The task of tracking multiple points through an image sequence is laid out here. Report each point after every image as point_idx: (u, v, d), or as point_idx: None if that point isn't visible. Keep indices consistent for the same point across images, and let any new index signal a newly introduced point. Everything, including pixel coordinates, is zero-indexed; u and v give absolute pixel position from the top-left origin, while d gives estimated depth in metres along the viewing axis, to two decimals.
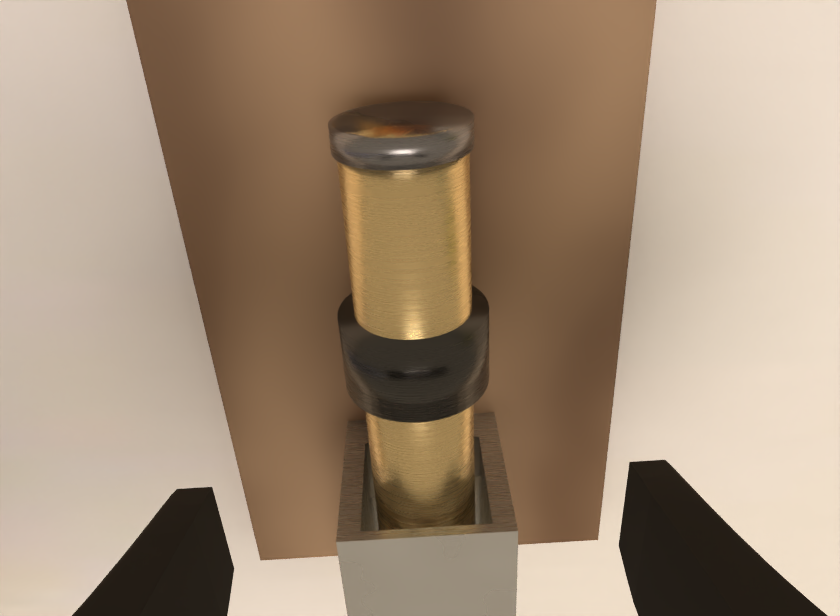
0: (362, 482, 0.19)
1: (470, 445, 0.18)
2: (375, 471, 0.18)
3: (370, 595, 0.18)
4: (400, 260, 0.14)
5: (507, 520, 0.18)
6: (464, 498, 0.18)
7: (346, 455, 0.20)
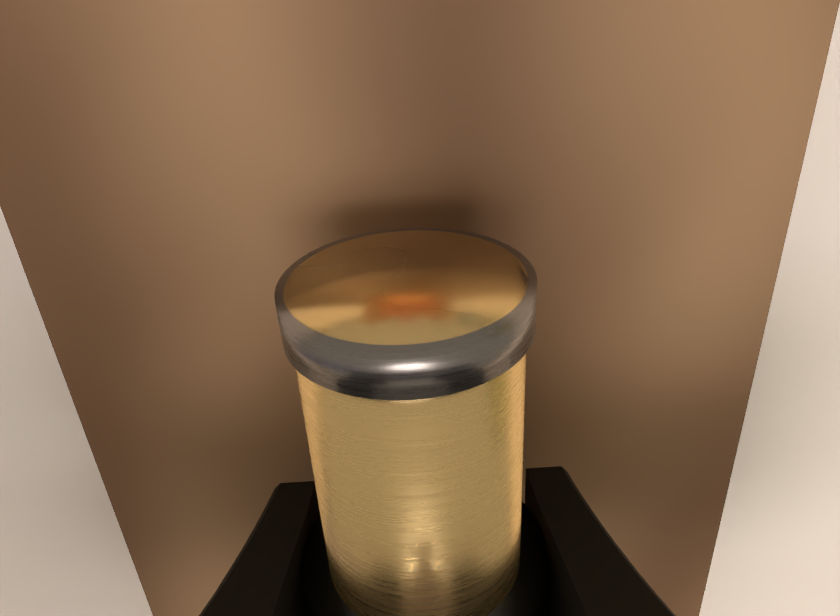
0: None
1: None
2: None
3: None
4: (403, 529, 0.08)
5: None
6: None
7: None
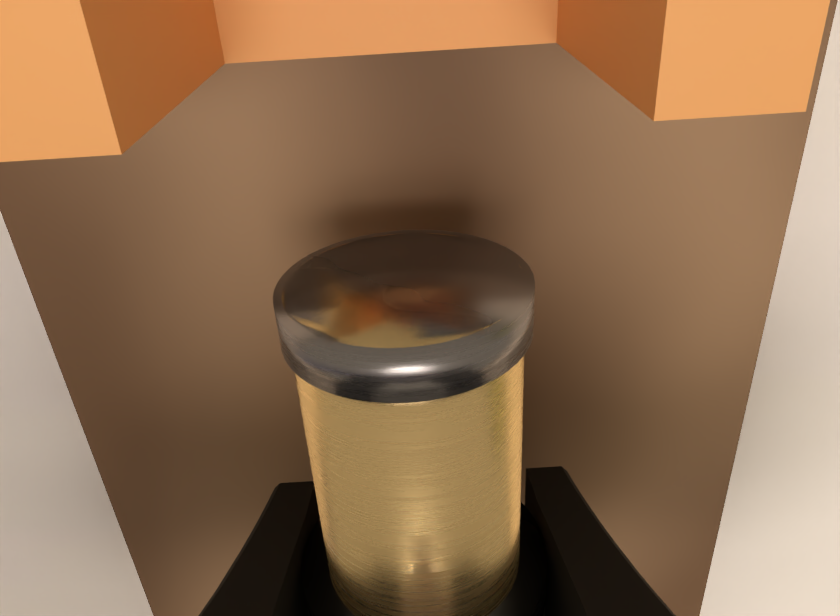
0: None
1: None
2: None
3: None
4: (402, 531, 0.08)
5: None
6: None
7: None
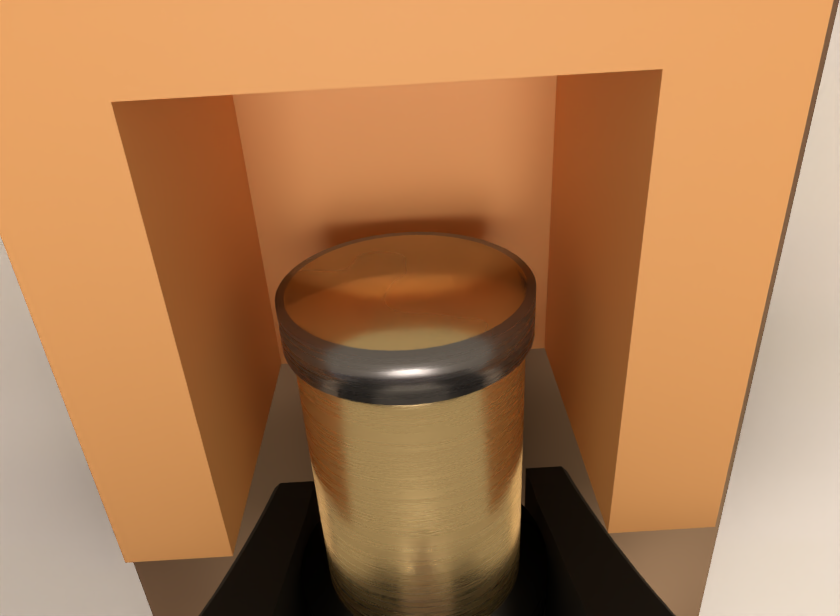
0: None
1: None
2: None
3: None
4: (403, 532, 0.08)
5: None
6: None
7: None
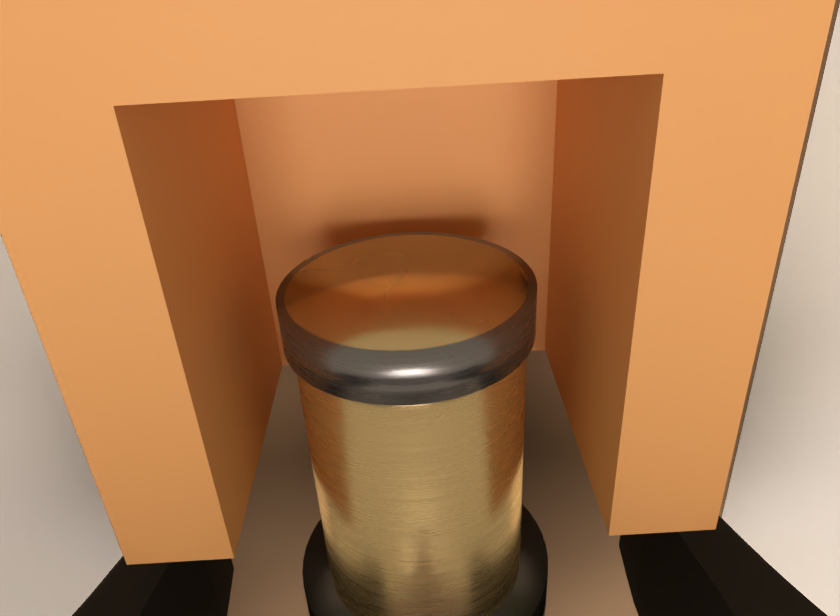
0: None
1: None
2: None
3: None
4: (404, 532, 0.08)
5: None
6: None
7: None
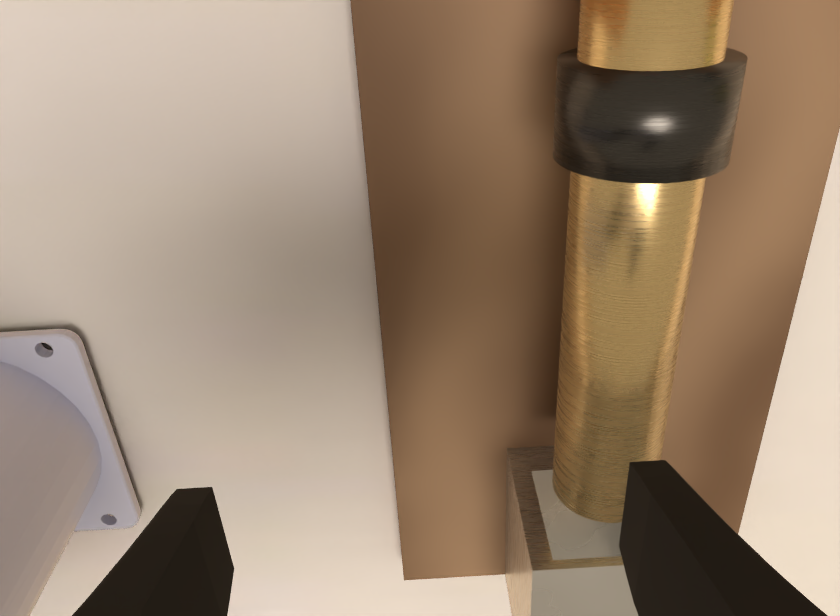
0: (539, 510, 0.20)
1: (695, 240, 0.15)
2: (578, 275, 0.15)
3: None
4: None
5: None
6: (681, 309, 0.16)
7: (516, 483, 0.21)
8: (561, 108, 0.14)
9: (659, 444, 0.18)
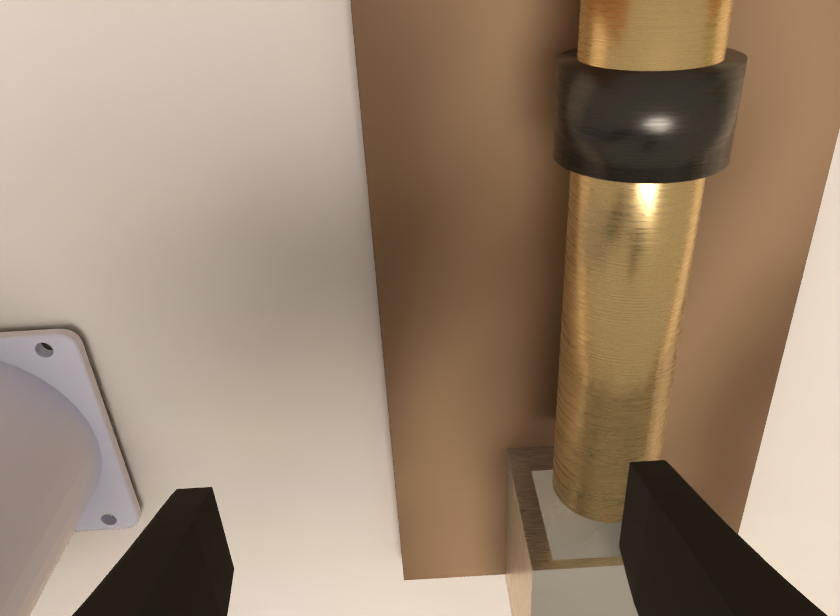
0: (539, 510, 0.20)
1: (695, 240, 0.15)
2: (578, 275, 0.15)
3: None
4: None
5: None
6: (681, 309, 0.16)
7: (516, 483, 0.21)
8: (561, 108, 0.14)
9: (659, 444, 0.18)
